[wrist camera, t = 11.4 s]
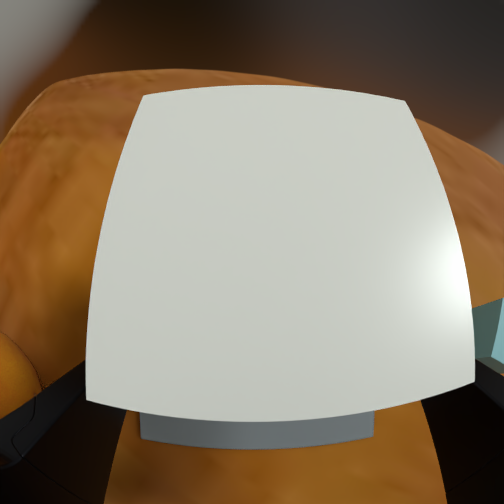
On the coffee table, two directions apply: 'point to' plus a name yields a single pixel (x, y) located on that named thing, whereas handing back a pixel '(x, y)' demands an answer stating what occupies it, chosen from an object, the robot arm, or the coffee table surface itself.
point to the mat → (256, 431)
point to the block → (489, 334)
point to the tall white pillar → (276, 260)
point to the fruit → (15, 377)
